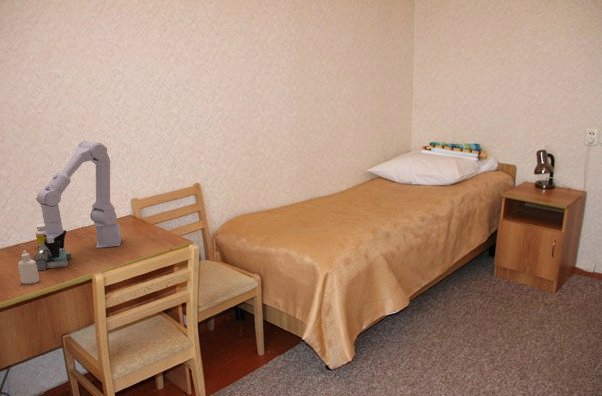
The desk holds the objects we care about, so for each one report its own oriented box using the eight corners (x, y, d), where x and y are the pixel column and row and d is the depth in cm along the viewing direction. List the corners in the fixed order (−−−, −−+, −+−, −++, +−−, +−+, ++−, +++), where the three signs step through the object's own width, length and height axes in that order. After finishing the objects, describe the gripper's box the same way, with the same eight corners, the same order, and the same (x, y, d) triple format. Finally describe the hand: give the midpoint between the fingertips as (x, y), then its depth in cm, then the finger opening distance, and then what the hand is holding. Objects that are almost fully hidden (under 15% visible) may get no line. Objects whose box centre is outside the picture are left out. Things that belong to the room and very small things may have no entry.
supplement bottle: (46, 249, 194) (42, 227, 191) (35, 249, 195) (31, 227, 192) (55, 244, 199) (51, 223, 196) (44, 244, 200) (40, 222, 197)
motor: (72, 255, 188) (70, 240, 186) (66, 267, 177) (63, 252, 175) (43, 258, 185) (40, 243, 183) (34, 271, 174) (31, 255, 172)
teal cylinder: (68, 259, 184) (66, 246, 183) (66, 264, 180) (64, 250, 178) (54, 260, 183) (52, 247, 181) (52, 265, 179) (50, 252, 177)
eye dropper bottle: (31, 277, 169) (25, 247, 166) (41, 280, 167) (35, 249, 163) (19, 282, 165) (13, 251, 162) (29, 286, 163) (23, 254, 159)
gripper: (45, 215, 182) (51, 247, 186) (35, 228, 169) (42, 262, 173) (65, 213, 184) (70, 245, 188) (56, 226, 170) (62, 260, 174)
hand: (58, 253), depth 180 cm, fingers open, 7 cm apart
